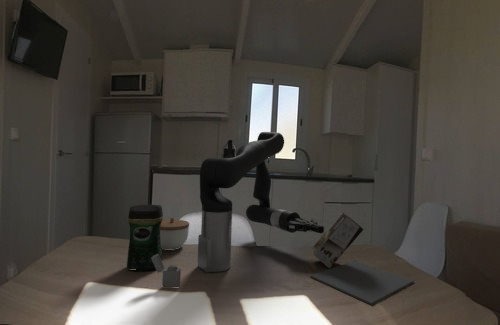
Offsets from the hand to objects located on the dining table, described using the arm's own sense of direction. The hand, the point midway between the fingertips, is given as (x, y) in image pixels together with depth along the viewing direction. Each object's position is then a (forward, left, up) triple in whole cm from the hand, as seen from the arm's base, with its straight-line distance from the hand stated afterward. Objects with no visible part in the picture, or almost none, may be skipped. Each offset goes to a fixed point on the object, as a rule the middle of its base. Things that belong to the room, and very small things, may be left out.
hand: (322, 229), depth 85 cm
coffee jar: (-48, +27, -11) cm, 56 cm away
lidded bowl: (-35, +41, -11) cm, 55 cm away
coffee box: (0, +1, -9) cm, 9 cm away
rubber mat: (0, -14, -11) cm, 18 cm away
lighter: (-47, +11, -11) cm, 50 cm away
